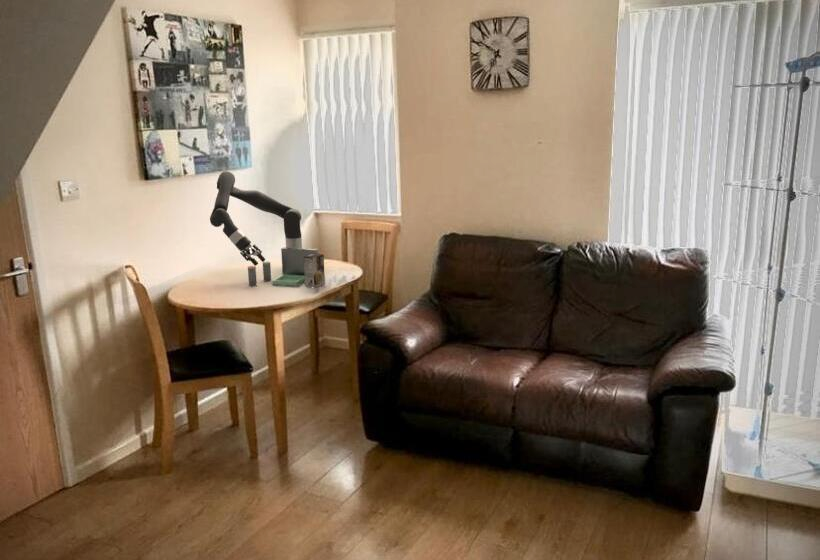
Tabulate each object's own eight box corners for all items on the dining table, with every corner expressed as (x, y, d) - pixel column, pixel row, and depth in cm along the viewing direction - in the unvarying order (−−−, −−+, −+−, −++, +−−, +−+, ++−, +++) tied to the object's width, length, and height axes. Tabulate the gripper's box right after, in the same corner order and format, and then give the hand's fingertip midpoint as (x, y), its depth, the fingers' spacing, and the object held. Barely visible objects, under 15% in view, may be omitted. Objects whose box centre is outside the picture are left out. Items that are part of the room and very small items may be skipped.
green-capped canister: (265, 279, 362) (264, 261, 360) (272, 279, 361) (271, 261, 359) (262, 281, 358) (261, 262, 356) (269, 281, 357) (268, 263, 355)
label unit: (286, 274, 372) (285, 246, 368) (320, 276, 367) (319, 247, 363) (280, 278, 364) (279, 249, 360) (315, 280, 359) (313, 250, 355)
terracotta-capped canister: (251, 284, 352) (249, 265, 350) (258, 284, 351) (256, 265, 349) (247, 285, 349) (246, 267, 346) (254, 286, 348) (253, 267, 345)
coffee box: (315, 282, 354) (314, 252, 350) (325, 284, 351) (324, 254, 347) (304, 286, 347) (303, 256, 343) (314, 288, 344) (313, 257, 340)
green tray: (283, 278, 362) (283, 274, 362) (307, 280, 359) (306, 275, 359) (272, 285, 350) (272, 280, 349) (296, 286, 346) (296, 282, 346)
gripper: (242, 242, 365) (262, 263, 366) (229, 247, 352) (250, 270, 353) (250, 233, 363) (270, 255, 363) (237, 238, 349) (258, 261, 350)
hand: (260, 262), depth 358 cm, fingers open, 8 cm apart
